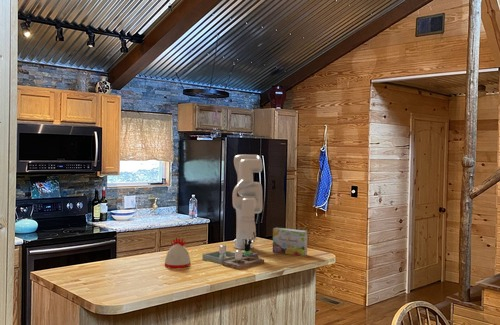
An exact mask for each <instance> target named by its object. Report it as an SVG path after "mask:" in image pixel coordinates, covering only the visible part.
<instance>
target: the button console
mask: <svg viewBox="0 0 500 325" xmlns="http://www.w3.org/2000/svg"><path fill="white" fill-rule="evenodd" d="M242 255H243V257H247V256H251V257H255V258H259V253H256V252H252V251H251V254H250V255H245V254H244V251H242Z"/></svg>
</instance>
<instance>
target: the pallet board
mask: <svg viewBox="0 0 500 325" xmlns="http://www.w3.org/2000/svg"><path fill="white" fill-rule="evenodd" d="M262 264H265V259H263V258H259V257H258V258H255V257H251V256H247V257H242V263H239V264H238V263H235V259H233V260H228V261H223V264H222V266H223V267H227V268H230V269H235V270H238V271H239V270H242V269H246V268H251V267H255V266H259V265H262Z"/></svg>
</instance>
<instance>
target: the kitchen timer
mask: <svg viewBox="0 0 500 325" xmlns="http://www.w3.org/2000/svg"><path fill="white" fill-rule="evenodd" d="M170 243H171V246H170V248H169V249H168V251H167V252H166V256H165V259H164V266H166V268H168V267H169V269H185V268H188V267H190V265H191V258H190V254H189V251H188V250H187V248H186V247H185V243H186V240H185V241H184V238H181V239H180V237H179V238H177V237H175V239H173V242H172V241H170Z"/></svg>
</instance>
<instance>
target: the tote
mask: <svg viewBox="0 0 500 325" xmlns="http://www.w3.org/2000/svg"><path fill="white" fill-rule="evenodd" d="M242 257H243V255H242ZM201 259H202V260H203V261H206V262H207V261H209V262H213V263H217V264H221V265H223V261H228V260H233V259H235V251H234V252H232V251H228V250H226V258H223V259H221V258H219V250H218V251H213V252H207V253H203V254H202V258H201Z"/></svg>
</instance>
